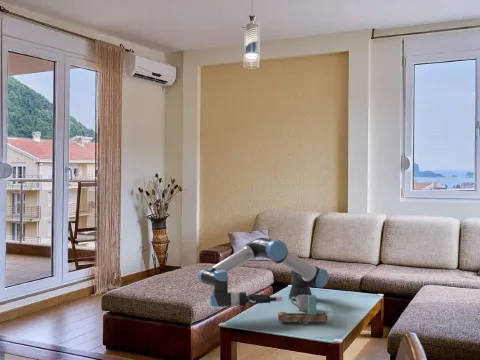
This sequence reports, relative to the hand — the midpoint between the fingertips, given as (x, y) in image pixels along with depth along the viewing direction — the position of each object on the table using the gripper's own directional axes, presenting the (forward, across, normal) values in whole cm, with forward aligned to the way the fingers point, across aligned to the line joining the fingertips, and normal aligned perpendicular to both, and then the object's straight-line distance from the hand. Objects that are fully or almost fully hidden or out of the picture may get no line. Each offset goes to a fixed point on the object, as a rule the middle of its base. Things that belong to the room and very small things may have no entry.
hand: (281, 298), depth 287 cm
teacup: (+16, -27, -14) cm, 34 cm away
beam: (+11, 0, -14) cm, 18 cm away
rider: (+16, 0, -10) cm, 19 cm away
